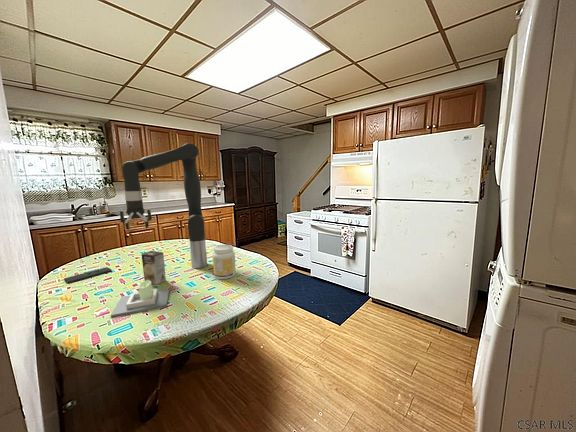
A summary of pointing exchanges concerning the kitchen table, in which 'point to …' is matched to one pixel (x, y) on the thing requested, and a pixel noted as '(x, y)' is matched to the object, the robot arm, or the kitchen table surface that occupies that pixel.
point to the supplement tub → (224, 262)
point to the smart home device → (87, 275)
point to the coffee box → (153, 267)
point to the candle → (145, 290)
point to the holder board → (140, 303)
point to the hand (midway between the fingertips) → (137, 228)
